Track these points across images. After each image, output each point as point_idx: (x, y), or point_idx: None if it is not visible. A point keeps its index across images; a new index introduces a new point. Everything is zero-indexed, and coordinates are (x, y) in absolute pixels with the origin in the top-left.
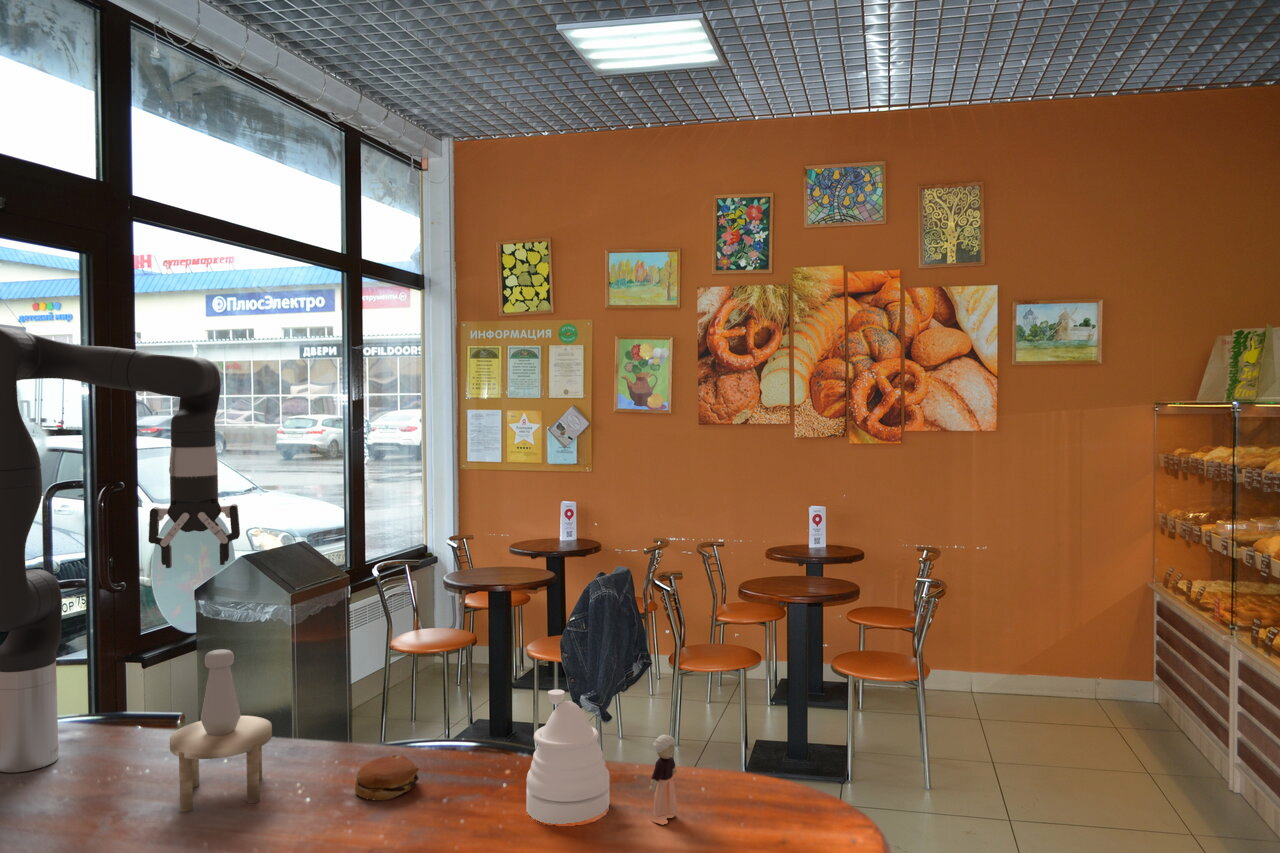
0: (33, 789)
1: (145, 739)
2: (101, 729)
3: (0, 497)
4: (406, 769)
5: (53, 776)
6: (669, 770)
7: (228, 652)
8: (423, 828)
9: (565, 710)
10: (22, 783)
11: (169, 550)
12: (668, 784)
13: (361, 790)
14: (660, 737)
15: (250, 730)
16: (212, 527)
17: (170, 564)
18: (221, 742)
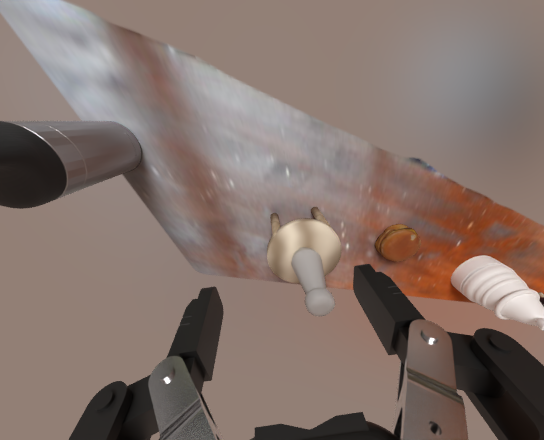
0: (161, 205)
1: (196, 97)
2: (126, 44)
3: None
4: (412, 255)
5: (161, 182)
6: None
7: (331, 310)
8: (399, 283)
9: (534, 325)
10: (145, 193)
11: (213, 366)
12: None
13: (379, 252)
14: None
15: (325, 256)
16: (409, 417)
17: (220, 312)
18: None
